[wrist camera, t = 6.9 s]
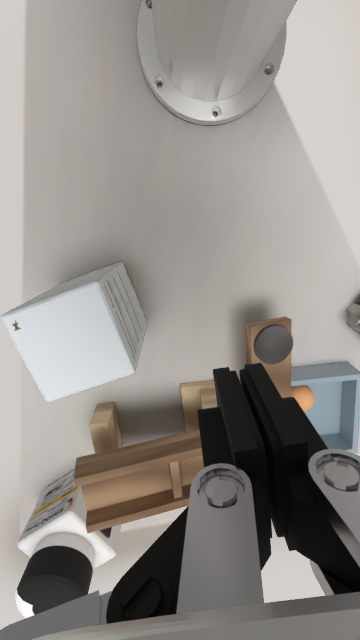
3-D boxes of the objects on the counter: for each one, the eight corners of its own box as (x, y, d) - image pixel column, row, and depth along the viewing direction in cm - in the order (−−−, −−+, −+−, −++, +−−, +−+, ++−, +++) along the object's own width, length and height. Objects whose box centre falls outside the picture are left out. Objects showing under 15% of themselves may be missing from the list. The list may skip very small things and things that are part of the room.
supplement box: (88, 344, 35) (43, 406, 23) (59, 282, 33) (-6, 314, 21) (149, 323, 34) (137, 376, 22) (125, 259, 32) (96, 278, 20)
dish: (258, 369, 37) (267, 383, 33) (345, 360, 37) (362, 373, 33) (261, 441, 40) (269, 461, 36) (341, 433, 40) (357, 453, 36)
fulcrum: (180, 383, 37) (181, 414, 31) (231, 378, 37) (242, 408, 31) (187, 447, 39) (190, 487, 33) (235, 442, 39) (246, 481, 33)
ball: (314, 384, 34) (323, 410, 34) (301, 375, 37) (309, 398, 37) (287, 395, 34) (296, 421, 34) (276, 385, 37) (284, 408, 37)
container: (89, 459, 39) (50, 566, 27) (127, 498, 41) (107, 615, 29) (43, 488, 41) (-15, 604, 28) (82, 525, 42) (44, 648, 30)
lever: (52, 357, 25) (46, 370, 23) (285, 316, 29) (301, 324, 27) (90, 515, 30) (89, 540, 28) (286, 462, 34) (300, 480, 32)
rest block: (98, 403, 37) (89, 424, 33) (114, 402, 37) (107, 422, 33) (106, 445, 39) (99, 470, 35) (122, 444, 39) (116, 468, 35)
